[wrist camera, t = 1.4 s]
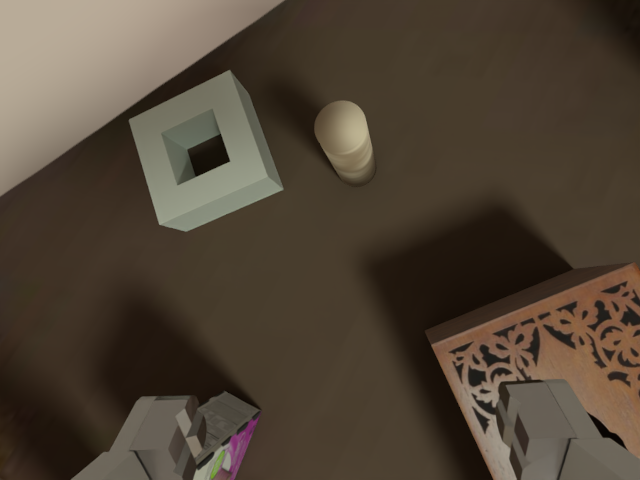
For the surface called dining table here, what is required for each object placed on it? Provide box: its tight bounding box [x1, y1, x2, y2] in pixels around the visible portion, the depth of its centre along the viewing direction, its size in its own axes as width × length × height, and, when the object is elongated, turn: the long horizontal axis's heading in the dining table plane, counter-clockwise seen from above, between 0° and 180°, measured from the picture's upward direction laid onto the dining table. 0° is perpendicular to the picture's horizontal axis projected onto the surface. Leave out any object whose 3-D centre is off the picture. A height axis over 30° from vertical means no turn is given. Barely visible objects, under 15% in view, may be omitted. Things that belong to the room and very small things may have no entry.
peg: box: [314, 101, 376, 187], centre depth 36 cm, size 4×4×11 cm
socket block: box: [129, 70, 284, 232], centre depth 42 cm, size 12×12×5 cm
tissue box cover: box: [424, 262, 640, 480], centre depth 30 cm, size 26×14×10 cm, turn 24°
